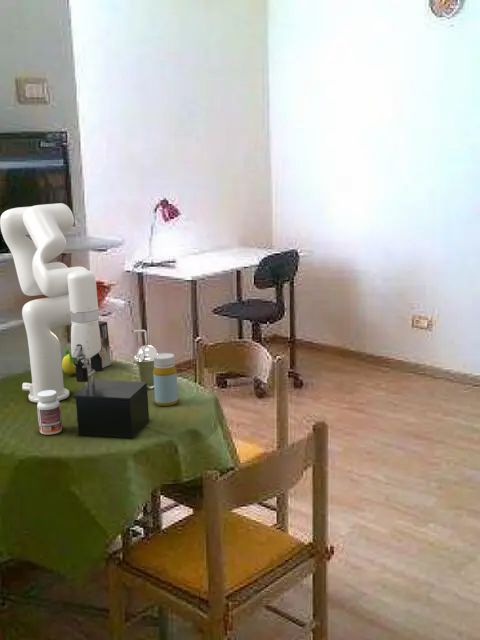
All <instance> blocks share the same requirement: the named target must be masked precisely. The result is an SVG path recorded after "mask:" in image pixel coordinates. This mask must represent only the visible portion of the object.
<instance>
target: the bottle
mask: <svg viewBox="0 0 480 640" xmlns="http://www.w3.org/2000/svg"><path fill="white" fill-rule="evenodd" d="M175 360H176V358H175V354H174V353H171V352H160V353H158V354H156V355H155V356H154V366H155V367H154V370H153V376H154V388H153V393H154V403H155V404H156V405H157V406H160V407H171V406H174V405H176V404H177V403H178V401H179V392H178V390H179V389H178V374H177V373H178V372H177V368H176V361H175Z"/></svg>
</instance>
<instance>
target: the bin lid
mask: <svg viewBox="0 0 480 640" xmlns="http://www.w3.org/2000/svg"><path fill="white" fill-rule="evenodd" d="M95 374H96V371H95V369H91V370H89V371H88V379H89V378H90V380H91V381H90V382H89V381H88V382H84V384H85V385H84V386H83V387H81V388H80V389H79V390H78V391H76V392H75V393H73V394H72V399H76V398H81V399H101V400H120V401H130V400H131V399H132V398H133V397H134V396H136V395H137V394H138V393H139V392H140V391H141V390H142V389H143V388H144V387H145V386H146V385H147V382H141V381H125V380H105V379H104V380H103V379H95Z"/></svg>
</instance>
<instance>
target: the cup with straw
mask: <svg viewBox="0 0 480 640" xmlns="http://www.w3.org/2000/svg"><path fill="white" fill-rule="evenodd" d="M131 333H144V345H142V346H140V347H139V348H138V349H137V350H136V354H135V355H134V356H133V361H135V362H136V366H137V368H138V374H139V379H140V382H147V390H151V389H154V376H153V370H154V367H155V366H154V356H155V355H156V354H159V353H158V351H157V349H156V348H155V347H154V346H152V345H149V344H148V334H147V330H145V329H132V330H131Z"/></svg>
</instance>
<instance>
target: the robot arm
mask: <svg viewBox="0 0 480 640" xmlns="http://www.w3.org/2000/svg"><path fill="white" fill-rule="evenodd" d="M74 221H75V217H74V214H73V212H72V210H71V208H70V207H69V206H68V205H67V204H65V203H62V202H60V203H58V202H56V203H45V204H36V205H32V206H22V207H21V206H20V207H14V208H13V207H12V208H9V209H7V210H5V211H4V212H2V213H1V215H0V232H1V235H2V237H3V240H4V242H5V244H6V245H7V247H8V249H9V251H10V253H11V255H12V258H13V263H14V267H15V271H16V274H17V279H18V283H19V287H20V290H21V292H22V293H23V294H24V295H25V296H28V297H34V296H36V297H37V296H42V295H43V296H45V297H43V298H35V299H33V300H29V301H28V302H26V303H24V305H23V306H22V309H21V315H22V321H23V323H24V327H25V332H26V337H27V344H28V345H27V346H28V352H29V366H30V373H31V374H30V375H31V382H23V383H22V385H21V390H22V391H24V392H29V393H28V400H29V401H30V402H31V403H37V404H38V402H40V401H38V393H39V392H41V391H45V390H54V391H56V392H57V400H58V401H59V402H60V401H64V400H65V399H67V398H69V396H70V390H69V389H68V388H65V383H64V373H63V372H64V371H63V369H62V360H63V359H62V351H61V342H60V340H59V338H58V337H57V335H56V334H55V333H53V332H52V329H56V328H60V327H67V326H71V328H70V347H71V349H70V350H71V351H70V353H71V355H72V359H73V361H74V362H73V363H74V365H75V368H76V372H75V378H76V382H77V383H85V382H88V383H89V378H88V371H87V367H86V363H87V359H90V360H91V369H95V373H96V372H98V373H99V372H100V373H101V372H102V371H103V369H104V368H102V358H100V357H102V353H101V350H102V347H101V346H102V339H101V338H100V330H99V324H98V321H100V313H99V303H98V289H97V288H98V287H97V279H96V278H97V277H96V274H95V272H94V271H91V270H89V269H87V268H86V267H84V266H72V267H71V266H70V267H68V266H67V264H65V263H64V262H61V261H54V262H50V261H53V260H54V259H55V258H57V257H58V256H60V255H61V254H62V253H63V252H64V251H65V249H66V248H67V239H66V237H65V235H64V233H63V232H69V231H71V230H72V229H73V227H74V224H75V222H74ZM27 235H28V236H30V238H31V239H30V238H29V237H28V236H27ZM80 356H85V357H80ZM81 360H83V363H82V362H81Z"/></svg>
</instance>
